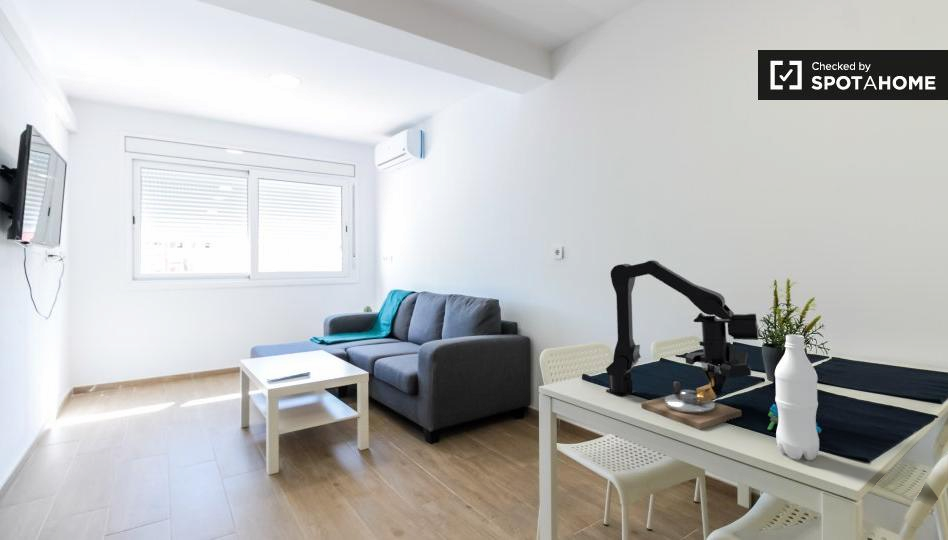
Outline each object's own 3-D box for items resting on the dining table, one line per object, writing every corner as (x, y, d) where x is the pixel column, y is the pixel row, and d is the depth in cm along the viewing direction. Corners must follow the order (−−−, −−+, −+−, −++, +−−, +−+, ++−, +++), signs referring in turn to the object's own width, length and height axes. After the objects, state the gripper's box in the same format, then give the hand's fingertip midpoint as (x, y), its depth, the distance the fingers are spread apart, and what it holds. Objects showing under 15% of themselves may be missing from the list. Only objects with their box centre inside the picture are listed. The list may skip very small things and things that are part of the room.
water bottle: (821, 466, 87) (818, 340, 86) (777, 458, 90) (774, 338, 90) (817, 451, 93) (814, 333, 92) (775, 445, 97) (772, 331, 96)
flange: (697, 417, 110) (697, 402, 110) (655, 404, 120) (655, 391, 120) (734, 402, 119) (734, 388, 118) (692, 391, 129) (692, 379, 129)
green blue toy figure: (833, 434, 96) (802, 405, 96) (821, 457, 95) (789, 428, 94) (787, 423, 107) (759, 397, 106) (776, 443, 106) (747, 417, 105)
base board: (641, 407, 123) (640, 388, 123) (681, 397, 130) (680, 378, 129) (699, 429, 107) (698, 407, 106) (741, 416, 113) (740, 395, 113)
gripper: (768, 341, 113) (771, 402, 113) (717, 331, 131) (720, 383, 131) (729, 345, 111) (732, 406, 111) (682, 334, 129) (686, 387, 129)
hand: (717, 395), depth 121 cm, fingers closed
